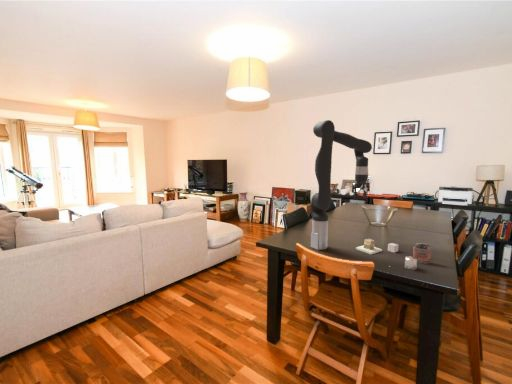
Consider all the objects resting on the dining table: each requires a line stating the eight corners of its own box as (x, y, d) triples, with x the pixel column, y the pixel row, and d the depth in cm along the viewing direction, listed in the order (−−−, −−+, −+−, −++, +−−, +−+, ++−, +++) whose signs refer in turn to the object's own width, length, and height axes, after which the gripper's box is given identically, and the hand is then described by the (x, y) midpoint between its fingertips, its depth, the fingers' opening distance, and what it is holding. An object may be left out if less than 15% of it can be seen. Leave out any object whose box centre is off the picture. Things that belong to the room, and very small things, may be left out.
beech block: (369, 249, 146) (370, 241, 145) (363, 247, 149) (364, 239, 149) (374, 248, 148) (374, 240, 147) (368, 246, 151) (368, 238, 151)
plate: (371, 254, 142) (371, 252, 142) (356, 249, 150) (356, 247, 150) (381, 251, 147) (381, 249, 147) (366, 246, 155) (366, 244, 155)
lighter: (412, 262, 131) (414, 243, 130) (411, 259, 134) (412, 241, 133) (431, 264, 128) (432, 245, 127) (429, 261, 132) (430, 243, 130)
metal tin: (413, 270, 121) (413, 260, 120) (402, 267, 125) (403, 257, 125) (418, 268, 124) (419, 258, 123) (408, 264, 128) (408, 255, 127)
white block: (394, 252, 145) (394, 246, 144) (387, 250, 148) (387, 244, 148) (398, 251, 147) (398, 244, 146) (391, 249, 150) (391, 242, 150)
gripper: (363, 173, 166) (362, 197, 168) (349, 173, 159) (348, 199, 161) (373, 173, 160) (372, 198, 162) (359, 174, 153) (358, 200, 155)
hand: (360, 198), depth 162 cm, fingers open, 8 cm apart
